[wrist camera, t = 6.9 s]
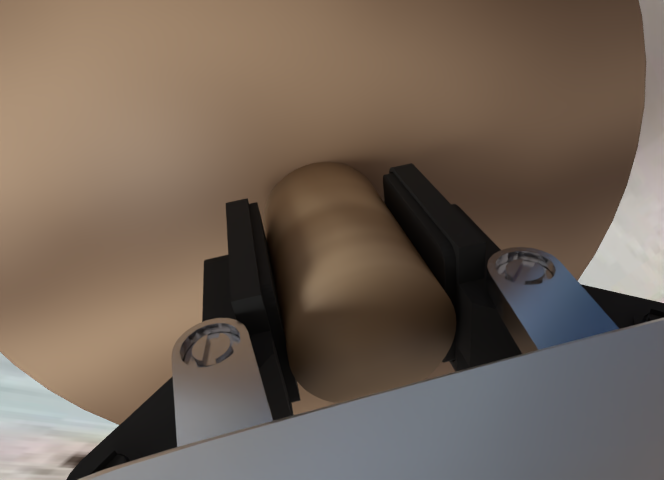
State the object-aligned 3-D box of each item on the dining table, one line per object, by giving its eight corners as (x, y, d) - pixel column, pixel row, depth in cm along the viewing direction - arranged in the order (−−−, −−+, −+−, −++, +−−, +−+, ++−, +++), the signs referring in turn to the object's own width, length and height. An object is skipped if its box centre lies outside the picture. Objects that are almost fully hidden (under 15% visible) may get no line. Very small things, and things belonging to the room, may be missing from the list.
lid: (569, 349, 20) (693, 488, 15) (107, 473, 18) (65, 684, 13) (690, -304, 10) (1212, -579, 5) (-333, -187, 8) (-1379, -451, 3)
